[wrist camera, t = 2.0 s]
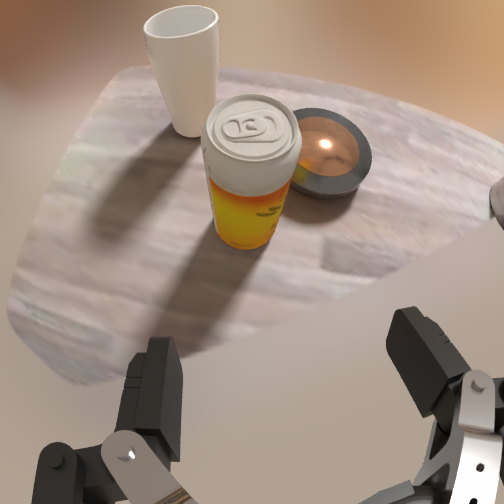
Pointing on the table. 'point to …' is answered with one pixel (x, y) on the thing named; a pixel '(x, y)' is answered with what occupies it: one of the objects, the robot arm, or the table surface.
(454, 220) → the table surface
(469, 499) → the robot arm
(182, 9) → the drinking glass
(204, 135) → the beer can
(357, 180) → the disc
